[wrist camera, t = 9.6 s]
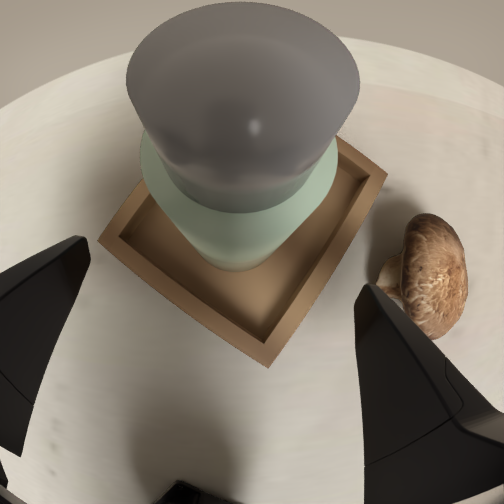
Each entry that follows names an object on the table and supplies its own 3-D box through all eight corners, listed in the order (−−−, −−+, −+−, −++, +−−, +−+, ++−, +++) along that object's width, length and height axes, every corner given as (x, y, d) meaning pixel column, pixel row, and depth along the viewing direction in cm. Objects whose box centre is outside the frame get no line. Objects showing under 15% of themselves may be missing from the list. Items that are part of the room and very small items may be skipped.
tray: (263, 358, 17) (268, 368, 14) (113, 247, 17) (97, 240, 14) (371, 186, 19) (387, 174, 16) (236, 99, 19) (237, 78, 17)
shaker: (214, 287, 16) (142, 263, 3) (178, 208, 17) (82, 40, 4) (294, 248, 17) (439, 134, 4) (255, 174, 17) (294, -17, 4)
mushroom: (345, 305, 14) (459, 291, 10) (364, 203, 18) (446, 179, 14) (391, 356, 18) (470, 352, 13) (403, 269, 22) (469, 256, 17)
